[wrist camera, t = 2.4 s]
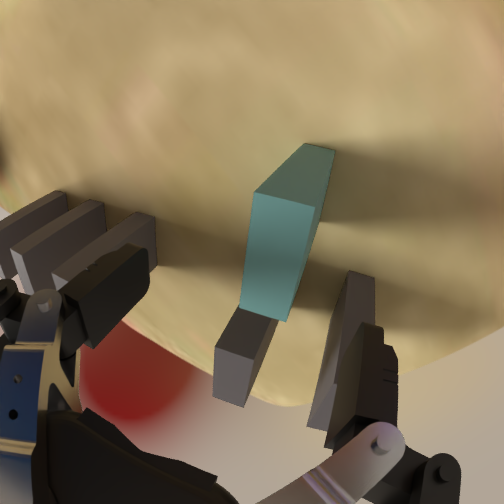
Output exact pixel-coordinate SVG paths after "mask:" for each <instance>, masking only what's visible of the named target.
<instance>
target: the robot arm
mask: <svg viewBox="0 0 504 504" xmlns="http://www.w3.org/2000/svg"><path fill="white" fill-rule="evenodd" d="M149 284H150V275H149V256H148V250H147V249H146V248H144V247H141V246H138V245H136V244H133V243H126V244H125V245H123V246H122V247H121V248H120V249H118V250H117V251H112V252H110V253H107V254H105V255H102V256H101V257H100V258H98V259H97V260H96V261H94V262H93V264H90V265H89V266H88V267H87V268H86V269H85V270H83V271H82V272H80V273H79V274H78V275H76V276H75V277H74V278H73V279H71V280H70V281H69V282H68V283H67V284H65V285H64V286H63V287H62V288H60V289H59V290H58V291H56V290H53V289H43V290H40V291H37V292H36V293H34V294H33V295H28V294H24V293H20V292H19V291H18V288H17V285H16V283H15V281H14V280H12V279H1V280H0V325H1V327H2V329H3V331H4V334H3V335H2V336H1V337H0V504H239V503H238V501H237V500H236V499H235V498H234V497H233V496H232V495H231V494H230V493H229V492H228V491H227V490H226V489H224V488H223V487H222V486H220V485H219V484H218V483H216V481H217V477H218V476H216V475H213V474H211V473H208V472H205V471H203V470H201V469H198V468H196V467H194V466H191V465H189V464H187V463H185V462H182V461H179V460H175V459H170V458H166V457H162V456H158V455H154V454H150V453H146V452H143V451H141V450H140V449H138V448H137V447H136V446H135V445H134V444H133V443H132V442H131V441H130V440H129V439H128V438H127V437H126V436H125V435H124V434H122V433H121V432H120V431H119V430H118V429H117V428H116V427H115V425H113V424H111V423H110V422H108V421H107V420H105V419H104V418H102V417H101V416H99V415H97V414H96V413H95V412H93V411H91V410H90V409H89V408H86V409H85V410H84V411H83V410H82V405H81V402H80V398H79V368H80V367H79V366H80V349H79V347H80V346H81V345H82V344H83V343H84V344H85V345H87V346H89V347H90V348H92V349H94V348H95V347H96V346H97V345H98V344H99V343H100V342H101V341H102V340H103V339H104V338H105V336H106V335H107V334H108V333H109V332H110V331H111V330H112V329H113V328H114V327H115V326H116V325H117V324H118V323H119V321H120V320H121V319H122V318H123V317H124V316H125V315H126V314H127V313H128V312H129V311H130V310H131V309H132V308H133V307H134V306H135V305H136V304H137V303H138V302H139V301H140V300H141V299H142V298H143V297H144V295H145V294H146V292H147V291H148V288H149ZM397 374H398V358H397V356H396V354H395V351H394V349H393V347H392V346H389V345H386V344H384V329H383V328H382V327H379V326H376V325H373V324H369V323H366V322H362V323H361V324H360V326H359V328H358V330H357V331H356V333H355V335H354V337H353V339H352V341H351V342H350V344H349V346H348V348H347V350H346V352H345V354H344V356H343V359H342V362H341V366H340V371H339V377H338V382H337V388H336V393H335V398H334V403H333V408H332V413H331V418H330V423H329V427H328V431H327V436H326V440H325V445H324V448H328V449H333V453H332V456H330V457H329V458H328V459H326V460H325V461H324V462H322V463H321V464H320V465H318V466H317V467H315V468H314V469H312V470H310V471H308V472H307V473H305V474H304V475H302V476H301V477H299V478H298V479H296V480H295V481H293V482H291V483H290V484H288V485H287V486H285V487H283V488H282V489H280V490H279V491H277V492H275V493H274V494H272V495H270V496H268V497H267V498H265V499H263V500H261V501H260V502H258V503H256V504H355V503H356V502H357V501H358V500H359V499H360V498H364V499H366V500H368V501H370V502H372V503H374V504H459V496H460V485H461V468H460V465H459V463H458V462H457V460H456V459H455V458H454V457H453V456H451V455H449V454H446V453H440V454H436V455H434V456H433V457H432V458H428V457H426V456H424V455H422V454H420V453H418V452H416V451H414V450H412V449H411V448H409V447H408V446H407V445H406V444H405V440H404V437H403V435H402V433H401V432H400V430H399V429H398V428H397V411H398V385H397V384H398V375H397Z"/></svg>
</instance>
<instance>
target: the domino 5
mask: <svg viewBox="0 0 504 504" xmlns="http://www.w3.org/2000/svg"><path fill="white" fill-rule="evenodd" d="M334 155H335V151H334V150H330V149H326V148H322V147H318V146H313V145H309V144H305V143H304V144H303V145H302V146H301V147H300V148H298V149H297V150H296V151H295V152H294V153H293V154H292V155H291V156H290V157H289V158H288V159H287V160H286V161H285V162H284V163H283V164H282V165H281V166H280V167H279V168H278V169H277V170H276V171H275V172H274V173H273V174H272V175H271V176H270V177H269V178H268V179H267V180H266V181H265V182H264V183H263V184H262V185H261V186H260V187H259V188H258V189H257V190H256V191H255V192H254V196H253V203H252V211H251V218H250V226H249V234H248V241H247V249H246V257H245V264H244V272H243V280H242V288H241V296H240V303H239V308H242V309H245V310H248V311H251V312H254V313H257V314H261V315H264V316H267V317H270V318H274V319H277V320H280V321H283V322H286V321H287V318H288V315H289V312H290V309H291V307H292V304H293V301H294V298H295V295H296V292H297V289H298V286H299V283H300V280H301V277H302V274H303V271H304V268H305V265H306V262H307V259H308V256H309V253H310V250H311V246H312V243H313V240H314V237H315V234H316V230H317V227H318V224H319V220H320V216H321V212H322V208H323V204H324V199H325V195H326V191H327V186H328V182H329V178H330V173H331V169H332V164H333V159H334Z"/></svg>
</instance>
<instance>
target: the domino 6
mask: <svg viewBox="0 0 504 504" xmlns="http://www.w3.org/2000/svg"><path fill="white" fill-rule="evenodd" d="M362 322H366V323H369V324H373V325H375V278H374V277H370V276H367V275H363V274H360V273H356V272H353V271H349V272H348V275H347V277H346V280H345V283H344V286H343V288H342V291H341V294H340V296H339V299H338V302H337V304H336V307H335V309H334V312H333V314H332V317H331V319H330V324H329V330H328V335H327V340H326V345H325V350H324V355H323V360H322V364H321V369H320V373H319V378H318V382H317V387H316V391H315V395H314V399H313V403H312V407H311V412H310V415H309V419H308V423H307V427H311V428H315V429H319V430H323V431H328V427H329V423H330V418H331V413H332V408H333V403H334V398H335V393H336V388H337V382H338V377H339V371H340V366H341V362H342V359H343V356H344V354H345V352H346V350H347V348H348V346H349V344H350V342H351V341H352V339H353V337H354V335H355V333H356V331H357V330H358V328H359V326H360V324H361V323H362Z"/></svg>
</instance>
